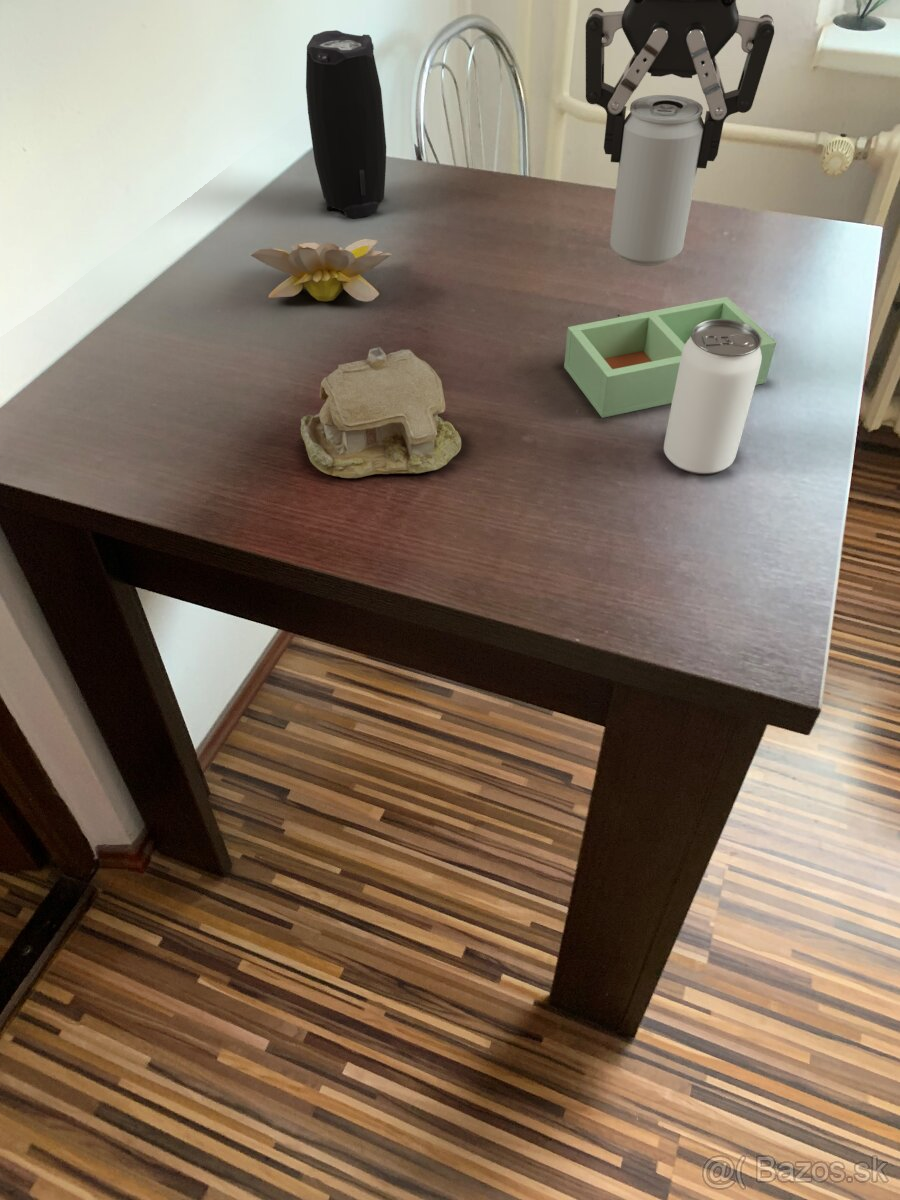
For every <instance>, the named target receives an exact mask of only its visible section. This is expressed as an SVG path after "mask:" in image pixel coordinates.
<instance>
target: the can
mask: <svg viewBox="0 0 900 1200" xmlns="http://www.w3.org/2000/svg"><path fill="white" fill-rule="evenodd" d="M760 345H761V336H760V335H759V333H758V332H757V331H756V330H755V329H754V328H752V327H750V326H749V325H747V324H744V323H741V322H738V321H734V320H728V319H713V320H707V321H704V322H701V323H699V324H697V325H696V326H695V327H694V328H693V329H692V331H691V337H690V338H689V339H688V341H687V342H686V343H685V345H684V347H683V351H682V355H681V360H680V365H679V370H678V375H677V380H676V385H675V390H674V395H673V400H672V403H671V406H670V410H669V415H668V421H667V426H666V432H665V436H664V442H663V452H664V454H665V456H666V458H667V459H668V460H669V461H670V463H671V464H672V465H673V466H674V467H676V468H678V469H680V470H683V471H684V472H687V473H691V474H696V475H712V474H713V475H714V474H717V473H719V472H721V471H724V470H725V469H727V468H729V467H730V466H731V465H732V464H733V463H734V461H735V460H736V457H737V454H738V450H739V447H740V443H741V439H742V435H743V432H744V429H745V425H746V422H747V418H748V415H749V414H748V413H749V410H750V407H751V403H752V399H753V395H754V392H755V388H756V386H757V385H756V381H757V377H758V373H759V369H760V365H761V360H762V354H761V350H760Z"/></svg>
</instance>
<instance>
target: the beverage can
mask: <svg viewBox="0 0 900 1200" xmlns="http://www.w3.org/2000/svg"><path fill="white" fill-rule="evenodd" d="M629 111H630V112H629V114H628V115H627V116H625V120H624V125H623V134H622V142H621V151H620V159H619V163H618V168H617V177H616V186H615V193H614V194H615V195H614V203H613V212H612V219H611V220H612V221H611V228H610V237H609V246H610V248H611V250H612V251H613V252H614V253H616V254H617V255H618V257H619V259H621V260H623V262H626V263H628V264H631V265H635V266H639V267H640V266H641V267H655V266H660V265H663V264H666V263H668V262H669V261H670V260H671V259H674V258H676V257H677V256H678V255H679V254H680V253H681V252H682V251H683V250H684V244H685V238H686V234H687V228H688V223H689V216H690V212H691V205H692V201H693V194H694V190H695V184H696V178H697V172H698V168H697V166H698V161H699V155H700V150H701V144H702V139H703V133H704V127H705V125H704V122H705V121H704V119H703V117H702V115H703V111H704V108H703V105H702V104H701V103H699V102H698V101H697V100H695V99H691V98H688V97H685V96H680V95H675V94H674V95H672V94H654V95H647V96H642V97H639V98H637V99H635V100H633V101H632V102H631V103H630V106H629Z"/></svg>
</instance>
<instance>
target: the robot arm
mask: <svg viewBox="0 0 900 1200" xmlns="http://www.w3.org/2000/svg"><path fill="white" fill-rule="evenodd" d="M620 29H622V31H623V33H624V35H625V37H626V39H627V41H628V43H629V45H630V47H631V49H632V51H633V54H632V57H631V58H630V60H629V61H628V63H627V65H626V66H625V69H624V71H623V72H622V74H621V76H620V77H619V79H618V81H617V82H616V83H615V86H613V85H610V84H608V83H606V82H605V48H606V47H609V46H610V45H611V44H612V43H613V41H614V37H615V34H616V32H617V31H619V30H620ZM735 34H738V35H739V36H740V38H741V41H740V44H741V45H740V46H741V49H742V51H743V52H744V53H746V58H745V61H744V65H743V68H742V70H741V71H742V72H741V75H740V78H739V81H738V85H737V88H736V89H733V90H730V91H728V92H727V91H726V90H725V87H724V85H723V81H722V78H721V74H720V69H719V66H718V62H717V59H716V57H717V55H718V54H719V53H720V52H721V51H722V49H724V47H725V46H726V45H727V44H728V43H729V42H730V40H731V39H732V38H733V37H734V35H735ZM774 35H775V22H774V18H773V17H772V16H771V15H770V14H763V15H761V16H760V17H754V16H747V15H742V14H741V15H740V14H739V10H738V8H737V0H629V1H628V3H627V4H626V6H625V7H624V10H618V11H604V10H603V9H602V8H600V7H595V8H592V9H591V11H590V12H589V15H588V17H587V19H586V22H585V100H586V102H587V103H588V104H590V105H597V106H599V107H601V108H603V110H605V113H606V121H605V129H604V130H605V131H604V141H603V150H604V154H605V155H610V163H618V164H619V159H620V151H621V142H622V134H623V125H624V120H625V119H626V113H627V106H626V105H627V103H628V101H629V100H630V98H631V97H632V95H633V93H635V91H636V90H637V89H638V87H639V85H640V84H641V82H642V81H643V79H644V77H645V76H646V75H647V73H648V74H650V77H661V78H662V77H665V76H670V75H673V76H675V77H679V78H683V79H693V76H696V75H697V79H698V82H699V85H700V87H701V91H702V93H703V96H704V97H705V100H706V101H705V102H706V105H707V107H708V110H706V111H705V116H704V121H703V122H704V125H705V127H704V133H703V139H702V144H701V150H700V155H699V161H698V166H697V169H707V166H708V162H714V161H715V160H716V158H717V157H718V153H719V149H720V143H721V138H722V133H723V128H724V123H725V121H726V119H727V118H728V117H729V116H731V115H732V114H733V115H734V114H737V113H741V114H745V113H748V112H749V111H750V110H751V109H752V107H753V104H754V101H755V98H756V96H757V95H756V94H757V91H758V89H759V84H760V82H761V78H762V75H763V71H764V68H765V65H766V61H767V58H768V55H769V52H770V49H771V46H772V42H773V39H774V37H775V36H774Z"/></svg>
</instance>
